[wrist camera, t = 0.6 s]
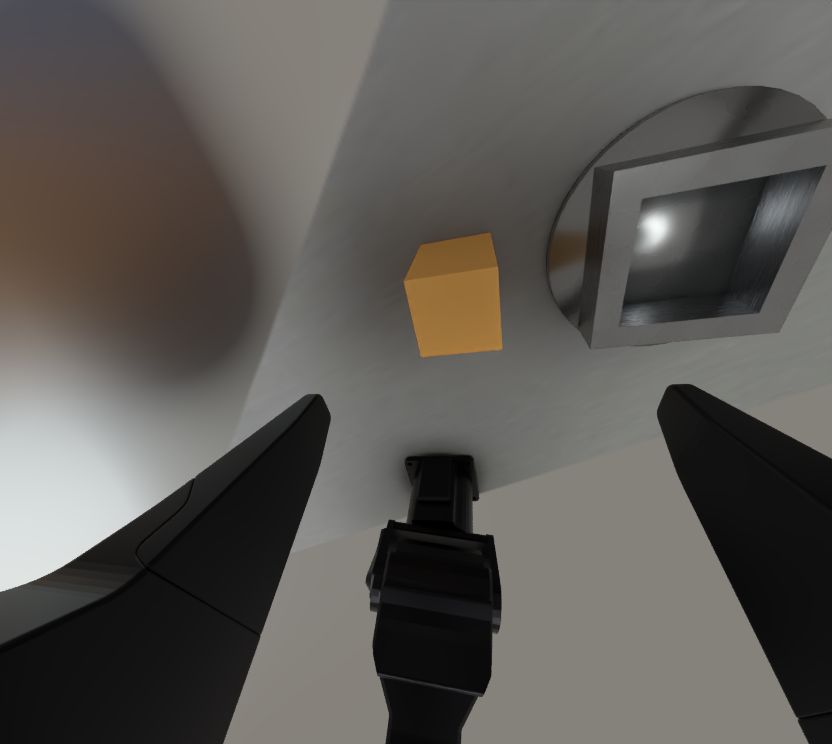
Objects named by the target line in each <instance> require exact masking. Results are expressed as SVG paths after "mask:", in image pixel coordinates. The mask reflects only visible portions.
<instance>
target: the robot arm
mask: <svg viewBox="0 0 832 744" xmlns="http://www.w3.org/2000/svg"><path fill="white" fill-rule="evenodd" d="M657 417H658V421H659V424H660V427H661V429H662V432H663V435H664V438H665V441H666V444H667V446H668V450H669V452H670V455H671V458H672V461H673V464H674V467H675V469H676V472H677V474H678V477H679V479H680V481H681V483H682V485H683V488H684V490H685V492H686V494H687V496H688V498H689V500H690V502H691V504H692V506H693V508H694V510H695V512H696V514H697V516H698V518H699V520H700V522H701V524H702V526H703V528H704V530H705V532H706V534H707V536H708V539H709V540H710V543H711V545H712V546H713V549H714V551H715V553H716V555H717V557H718V559H719V561H720V563H721V565H722V567H723V569H724V571H725V573H726V575H727V577H728V579H729V581H730V583H731V585H732V587H733V589H734V592H735V594H736V596H737V597H738V600H739V602H740V604H741V606H742V608H743V610H744V612H745V614H746V616H747V617H748V620H749V622H750V624H751V626H752V628H753V630H754V632H755V634H756V636H757V638H758V640H759V642H760V644H761V646H762V649H763V651H764V653H765V655H766V657H767V659H768V661H769V663H770V665H771V667H772V669H773V671H774V673H775V675H776V677H777V679H778V681H779V683H780V685H781V687H782V689H783V691H784V693H785V695H786V697H787V699H788V701H789V704H790V706H791V708H792V710H793V711H794V714H795V715H796V717H797V718H799V719H798V723H799V725H800V727H801V729H802V730H803V733H804V735H805V737H806V739H807V741H808V743H809V744H832V459H831V458H829V457H828V456H826V455H824V454H822V453H820V452H818V451H816V450H814V449H812V448H811V447H809V446H807V445H805V444H803V443H801V442H799V441H797V440H795V439H794V438H792V437H790V436H788V435H786V434H784V433H782V432H780V431H778V430H777V429H775V428H773V427H771V426H769V425H767V424H765V423H763V422H761V421H760V420H758V419H756V418H754V417H752V416H750V415H748V414H746V413H745V412H743V411H741V410H739V409H737V408H735V407H733V406H731V405H730V404H728V403H726V402H724V401H722V400H720V399H718V398H716V397H714V396H713V395H711V394H709V393H707V392H705V391H703V390H701V389H699V388H697V387H696V386H693V385H691V384H673V385H670V386H668V387H667V389H666V390H665V393H664V395H663V397H662V400H661V402H660V404H659V407H658V409H657ZM330 421H331V415H330V412H329V410H328V408H327V405H326V403H325V401H324V399H323V397H322V396H321V395H320V394H308V395H305V396H304V397H302V398H301V399H300V400H298V401H297V402H296V403H294V404H293V405H292V406H290V407H289V408H288V409H286V410H285V411H284V412H282V413H281V414H279V415H278V416H277V417H275V418H274V419H273V420H271V421H270V422H269V423H267V424H266V425H265V426H263V427H262V428H260V429H259V430H258V431H256V432H255V433H254V434H252V435H251V436H250V437H248V438H247V439H246V440H244V441H243V442H241V443H240V444H239V445H237V446H236V447H235V448H233V449H232V450H231V451H229V452H228V453H227V454H225V455H224V456H223V457H221V458H220V459H218V460H217V461H216V462H214V463H213V464H212V465H211V466H209V467H208V468H206V469H205V470H204V471H202V472H201V473H199V474H198V475H197V476H196V477H195V478H193V479H191V480H190V481H189V482H187V483H186V484H185V485H183V486H182V487H181V488H179V489H178V490H176V491H175V492H174V493H172V494H171V495H169V496H168V497H167V498H165V499H164V500H162V501H161V502H160V503H158V504H157V505H155V506H154V507H152V508H151V509H150V510H148V511H146V512H145V513H143V514H142V515H140V516H139V517H138V518H136V519H135V520H133V521H132V522H130V523H129V524H127V525H126V526H124V527H123V528H121V529H120V530H118V531H117V532H115V533H113V534H112V535H110V536H109V537H107V538H106V539H104V540H103V541H101V542H100V543H98V544H97V545H95V546H94V547H92V548H91V549H90V550H88V551H86V552H85V553H83V554H82V555H80V556H79V557H77V558H76V559H74V560H73V561H71V562H69V563H68V564H66V565H65V566H63V567H61V568H60V569H57V570H56V571H54V572H52V573H50V574H48V575H46V576H43V577H41V578H39V579H37V580H34V581H32V582H29V583H27V584H24V585H21V586H18V587H15V588H12V589H9V590H6V591H2V592H0V744H223V742H224V740H225V737H226V734H227V731H228V728H229V725H230V722H231V720H232V717H233V714H234V711H235V708H236V705H237V703H238V700H239V697H240V694H241V691H242V688H243V685H244V683H245V680H246V677H247V674H248V671H249V668H250V665H251V663H252V660H253V657H254V654H255V651H256V648H257V645H258V642H259V640H260V634H261V633H262V630H263V628H264V625H265V622H266V619H267V616H268V613H269V610H270V608H271V605H272V602H273V599H274V596H275V593H276V590H277V588H278V585H279V582H280V579H281V576H282V573H283V570H284V568H285V565H286V562H287V559H288V556H289V553H290V550H291V548H292V545H293V542H294V539H295V536H296V533H297V530H298V528H299V525H300V522H301V519H302V516H303V513H304V510H305V508H306V505H307V502H308V499H309V496H310V493H311V490H312V488H313V485H314V482H315V479H316V476H317V473H318V470H319V467H320V463H321V460H322V455H323V451H324V447H325V443H326V438H327V434H328V430H329V425H330ZM405 466H406V469H407V472H408V475H409V478H410V481H411V484H412V493H411V499H410V505H409V511H408V517H407V523H401V522H395V520H389V521H388V524H387V528H384V529H382V530H381V534H380V538H379V543H378V547H377V550H376V553H375V556H374V558H373V561H372V563H371V566H370V569H369V571H368V574H367V577H366V585H367V587H368V589H369V590H370V611H373V612H377V618H376V624H375V630H374V637H373V656H374V661H375V666H376V671H377V675H378V676H379V677H380V680H381V684H382V688H383V692H384V696H385V699H386V703H387V707H388V711H389V721H388V729H387V737H386V744H461V731H462V728H463V726H464V724H465V722H466V720H467V718H468V716H469V714H470V712H471V710H472V707H473V706H474V704H475V701H476V700H477V698H478V696H479V697H482V696H483V695H484V693H485V691H486V688H487V685H488V683H489V681H490V678H491V666H492V633H494V634H497V633H498V631H499V628H500V622H501V585H500V578H499V570H498V564H497V557H496V551H495V545H494V537H493V535H488V534H487V535H480V534H473V523H472V521H473V515H472V501H478V500H479V492H478V485H477V479H476V472H475V465H474V459H473V458H472V457H470V456H457V457H409V458H406V460H405Z"/></svg>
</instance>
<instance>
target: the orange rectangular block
mask: <svg viewBox="0 0 832 744" xmlns="http://www.w3.org/2000/svg"><path fill="white" fill-rule="evenodd" d="M404 285H405V290H406V294H407V298H408V303H409V307H410V311H411V316H412V320H413V324H414V329H415V333H416V338H417V342H418V346H419V351H420V355H421V357H430V356H440V355H450V354H461V353H471V352H482V351H492V350H502V331H501V312H500V293H499V274H498V264H497V259H496V255H495V251H494V246H493V242H492V237H491V233H490V232H489V233H483V234H478V235H472V236H467V237H461V238H456V239H450V240H444V241H439V242H433V243H428V244H422V245H420V247H419V249H418V252H417V254H416V256H415V258H414V260H413V262H412V264H411V266H410V269H409V271H408V273H407V275H406V277H405V279H404Z"/></svg>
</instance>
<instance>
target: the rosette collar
mask: <svg viewBox="0 0 832 744" xmlns="http://www.w3.org/2000/svg"><path fill="white" fill-rule="evenodd" d="M831 230H832V119H827V118H826V117H825V116H824V115H823V114H822V113H821V112H820V111H819V110H818V109H817V108H816V107H815V105H813V104H812V103H810V102H808V101H807V100H805V99H804V98H802V97H801V96H799V95H796V94H793V93H791V92H788V91H785V90H782V89H777V88H770V87H763V86H744V87H733V88H727V89H722V90H716V91H711V92H706V93H702V94H699V95H695V96H692V97H689V98H686V99H682V100H680V101H677V102H675V103H673V104H671V105H668V106H666V107H664V108H662V109H659V110H658V111H656V112H654V113H652V114H651V115H649V116H647V117H645V118H644V119H642V120H640V121H639V122H637V123H636V124H634V125H633V126H632V127H630V128H629V129H628V130H626V131H625V132H623V133H622V134H621V135H619V136H618V137H617V138H616V139H615V140H614V141H612V142H611V143H610V144H609V145H608V146H607V147H606V148H604V149H603V150H602V151H601V152H600V154H599V155H598V156H597V157H596V158H595V159H594V160H593V161H592V162H591V163H590V164H589V165H588V166H587V168H586V169H585V170H584V172H583V173H582V174H581V175H580V177H579V178H578V179H577V181H576V182H575V183H574V185H573V187H572V188H571V190H570V191H569V193H568V195H567V196H566V198H565V200H564V202H563V204H562V206H561V208H560V210H559V212H558V214H557V216H556V219H555V222H554V225H553V228H552V230H551V235H550V239H549V243H548V250H547V276H548V281H549V286H550V289H551V292H552V294H553V297H554V299H555V301H556V303H557V304H558V306H559V308H560V310H561V312H562V313H563V314H564V315H565V317H566V318H567V319H568V320H569V321H570V322H571V323H572V324H573V325H574V326H575V327H576V328H577V329H579V330H580V332H581V334H582V336H583V337H584V339H585V341H586V342H587V344H588V346H589V348H590V349H600V348H611V347H622V346H652V345H659V344H666V343H670V342H678V341H689V340H700V339H711V338H722V337H733V336H744V335H756V334H767V333H778V332H780V330H781V328H782V326H783V324H784V322H785V320H786V318H787V316H788V314H789V312H790V310H791V308H792V306H793V304H794V302H795V300H796V299H797V297H798V295H799V293H800V291H801V289H802V287H803V285H804V283H805V281H806V279H807V277H808V275H809V273H810V271H811V269H812V267H813V265H814V264H815V262H816V260H817V258H818V256H819V254H820V252H821V250H822V248H823V246H824V244H825V242H826V240H827V238H828V236H829V234H830V232H831Z"/></svg>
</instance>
